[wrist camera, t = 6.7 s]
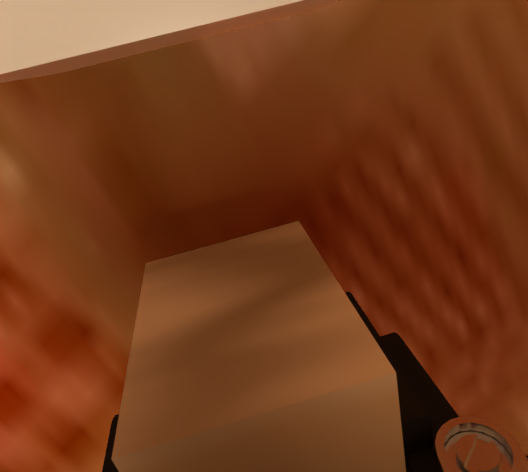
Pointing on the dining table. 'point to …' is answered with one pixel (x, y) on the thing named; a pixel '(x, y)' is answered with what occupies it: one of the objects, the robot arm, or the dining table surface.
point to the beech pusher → (255, 367)
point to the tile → (118, 28)
